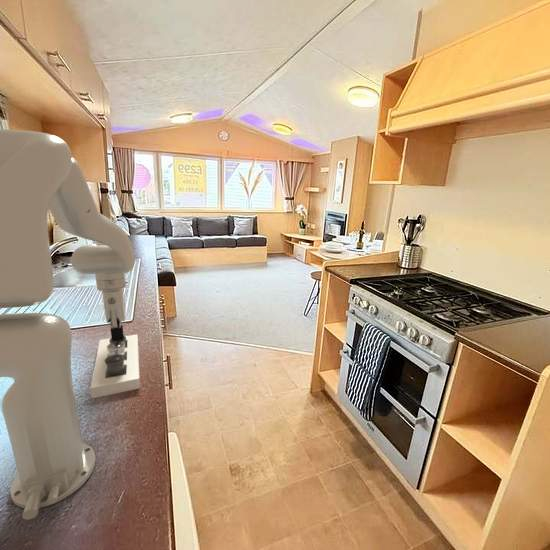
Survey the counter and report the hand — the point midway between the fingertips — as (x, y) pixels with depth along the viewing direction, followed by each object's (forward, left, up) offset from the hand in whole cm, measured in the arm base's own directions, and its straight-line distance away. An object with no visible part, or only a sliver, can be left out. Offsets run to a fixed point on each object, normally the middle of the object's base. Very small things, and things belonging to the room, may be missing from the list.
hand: (117, 338), depth 94 cm
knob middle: (-8, 0, -2) cm, 8 cm away
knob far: (0, 0, -4) cm, 4 cm away
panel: (-8, 0, -5) cm, 9 cm away
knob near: (-15, 0, -2) cm, 15 cm away
